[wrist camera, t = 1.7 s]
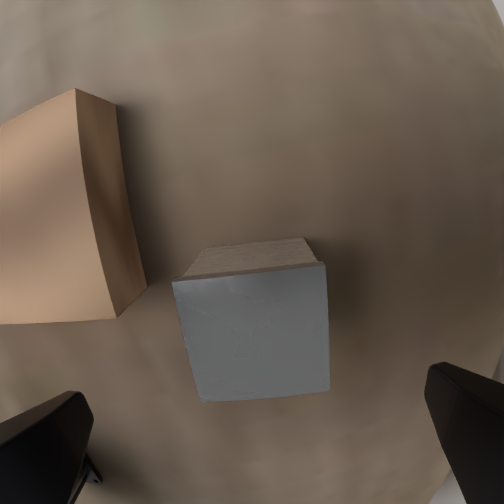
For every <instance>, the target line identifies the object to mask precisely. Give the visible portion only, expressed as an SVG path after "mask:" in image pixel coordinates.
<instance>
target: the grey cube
mask: <svg viewBox="0 0 504 504" xmlns="http://www.w3.org/2000/svg"><path fill="white" fill-rule="evenodd" d="M172 287H173V292H174V297H175V301H176V306H177V311H178V315H179V320H180V324H181V328H182V333H183V337H184V341H185V345H186V349H187V353H188V357H189V361H190V365H191V369H192V373H193V377H194V381H195V384H196V388H197V392H198V395H199V399H200V402H209V401H235V400H251V399H265V398H276V397H286V396H295V395H304V394H312V393H319V392H326V391H330V353H329V320H328V298H327V280H326V265H325V264H324V262H323V261H317V259H316V258H315V256H314V254H313V253H312V251H311V249H310V248H309V246H308V245H307V243H306V241H305V240H304V238H303V237H299V238H290V239H282V240H273V241H264V242H255V243H247V244H238V245H230V246H221V247H213V248H205V249H204V250H203V251H202V253H201V254H200V255H199V256H198V257H197V259H196V260H195V261H194V262H193V264H192V265H191V266H190V267H189V268H188V270H187V271H186V272H185V273H184V275H183V276H182V277H175V279H174V280H173V281H172Z"/></svg>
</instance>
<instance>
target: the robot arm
mask: <svg viewBox="0 0 504 504" xmlns="http://www.w3.org/2000/svg"><path fill="white" fill-rule="evenodd" d="M424 395H425V400H426V403H427V406H428V409H429V411H430V414H431V417H432V420H433V423H434V426H435V429H436V432H437V435H438V438H439V441H440V443H441V446H442V448H443V451H444V453H445V455H446V457H447V459H448V462H449V464H450V466H451V468H452V470H453V473H454V475H455V477H456V480H457V482H458V484H459V486H460V489H461V491H462V494H463V496H464V498H465V501H466V503H467V504H504V384H502V383H500V382H497V381H494V380H492V379H489V378H486V377H484V376H481V375H478V374H476V373H473V372H471V371H468V370H465V369H463V368H460V367H458V366H455V365H452V364H450V363H447V362H440V363H436V364H433V365H431V366H430V367H429V370H428V375H427V380H426V386H425V391H424ZM93 422H94V418H93V414H92V411H91V409H90V407H89V405H88V403H87V401H86V399H85V397H84V395H83V394H82V393H81V392H78V391H67V392H65V393H63V394H61V395H58V396H56V397H54V398H52V399H50V400H48V401H46V402H44V403H42V404H40V405H38V406H36V407H34V408H32V409H30V410H27V411H25V412H23V413H21V414H19V415H17V416H15V417H13V418H11V419H8V420H6V421H4V422H2V423H0V504H74V503H75V501H76V499H77V497H78V496H79V494H80V492H81V490H82V488H83V486H84V484H85V482H90V483H94V484H99V485H100V484H101V483H102V481H103V480H102V478H101V477H100V475H99V474H98V472H97V471H96V469H95V468H94V466H93V465H92V463H91V462H90V460H89V458H88V457H87V455H86V454H85V451H86V448H87V444H88V440H89V437H90V433H91V429H92V426H93Z"/></svg>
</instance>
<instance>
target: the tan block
mask: <svg viewBox="0 0 504 504" xmlns="http://www.w3.org/2000/svg"><path fill="white" fill-rule="evenodd" d="M146 288H147V283H146V279H145V275H144V270H143V266H142V262H141V258H140V253H139V249H138V244H137V240H136V235H135V230H134V225H133V220H132V215H131V210H130V204H129V199H128V193H127V187H126V181H125V175H124V169H123V162H122V155H121V148H120V141H119V133H118V124H117V115H116V106H115V104H113V103H111V102H108V101H106V100H103V99H101V98H99V97H96V96H94V95H91V94H89V93H86V92H84V91H81V90H79V89H76V88H74V89H72V90H69V91H67V92H65V93H63V94H60V95H58V96H56V97H54V98H52V99H50V100H48V101H46V102H44V103H42V104H40V105H38V106H36V107H34V108H32V109H30V110H28V111H26V112H24V113H22V114H20V115H19V116H17V117H15V118H13V119H11V120H10V121H8V122H6V123H4V124H3V125H1V126H0V324H23V323H48V322H67V321H84V320H99V319H113V318H117V317H118V316H119V315H120V314H121V313H122V312H123V311H124V310H125V309H126V308H127V307H128V306H129V305H130V304H131V303H132V302H133V301H134V300H135V299H136V298H137V297H138V296H139V295H140V294H141V293H142V292H143V291H144V290H145V289H146Z"/></svg>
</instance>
